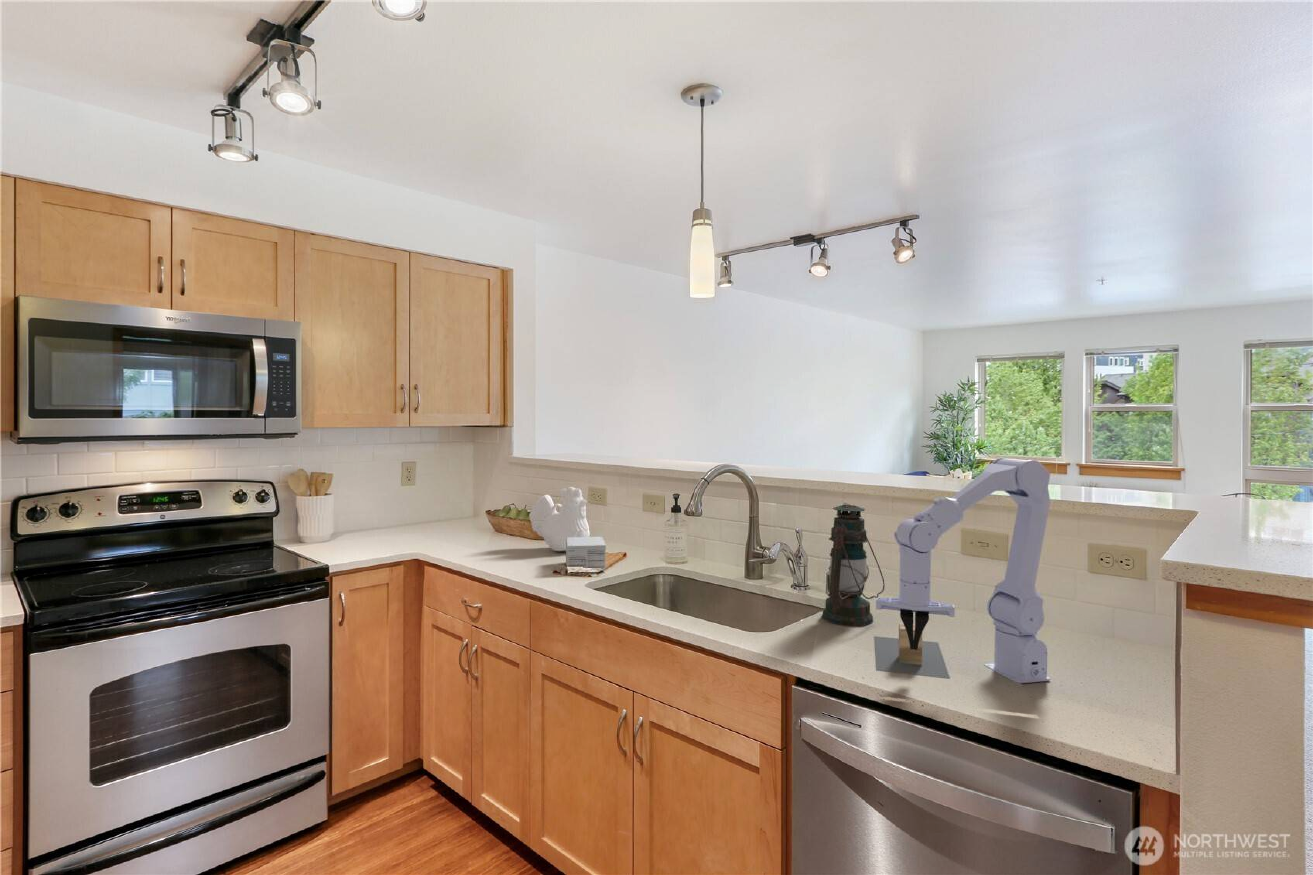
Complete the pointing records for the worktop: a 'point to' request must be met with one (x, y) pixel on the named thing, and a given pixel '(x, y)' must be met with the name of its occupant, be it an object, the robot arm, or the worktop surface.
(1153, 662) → the worktop surface
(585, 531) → the decorative rooster
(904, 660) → the oak block
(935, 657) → the mat
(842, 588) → the lantern
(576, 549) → the supplement box
